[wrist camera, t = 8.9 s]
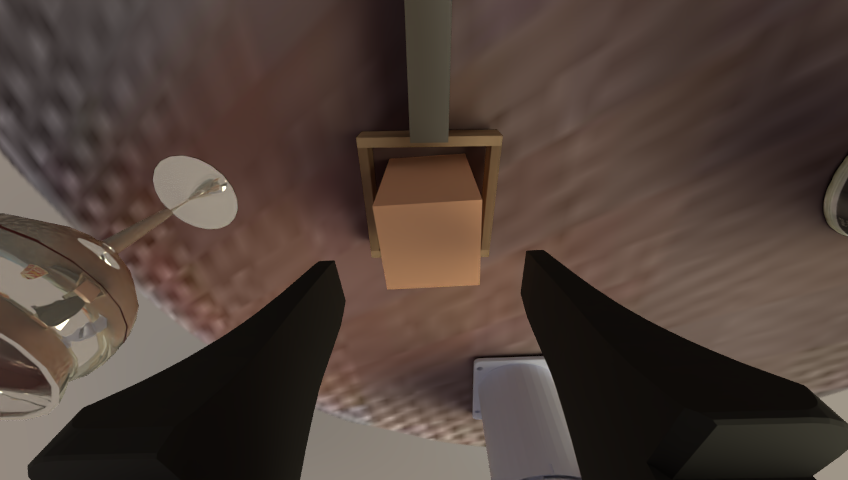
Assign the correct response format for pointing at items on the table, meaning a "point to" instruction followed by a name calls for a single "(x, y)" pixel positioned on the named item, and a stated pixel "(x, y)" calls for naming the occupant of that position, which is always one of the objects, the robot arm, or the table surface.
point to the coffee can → (838, 200)
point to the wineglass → (83, 288)
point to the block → (429, 222)
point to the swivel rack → (429, 112)
